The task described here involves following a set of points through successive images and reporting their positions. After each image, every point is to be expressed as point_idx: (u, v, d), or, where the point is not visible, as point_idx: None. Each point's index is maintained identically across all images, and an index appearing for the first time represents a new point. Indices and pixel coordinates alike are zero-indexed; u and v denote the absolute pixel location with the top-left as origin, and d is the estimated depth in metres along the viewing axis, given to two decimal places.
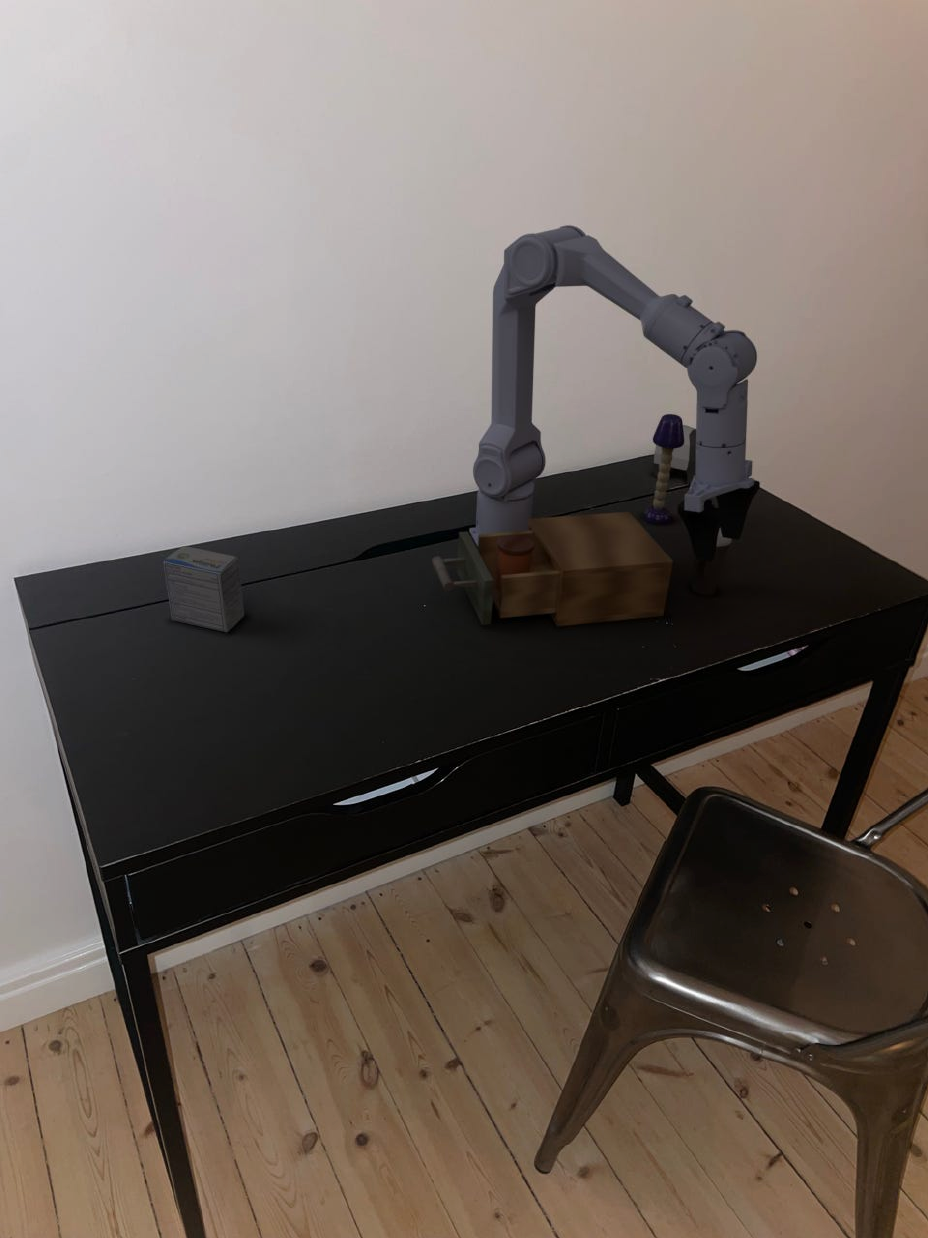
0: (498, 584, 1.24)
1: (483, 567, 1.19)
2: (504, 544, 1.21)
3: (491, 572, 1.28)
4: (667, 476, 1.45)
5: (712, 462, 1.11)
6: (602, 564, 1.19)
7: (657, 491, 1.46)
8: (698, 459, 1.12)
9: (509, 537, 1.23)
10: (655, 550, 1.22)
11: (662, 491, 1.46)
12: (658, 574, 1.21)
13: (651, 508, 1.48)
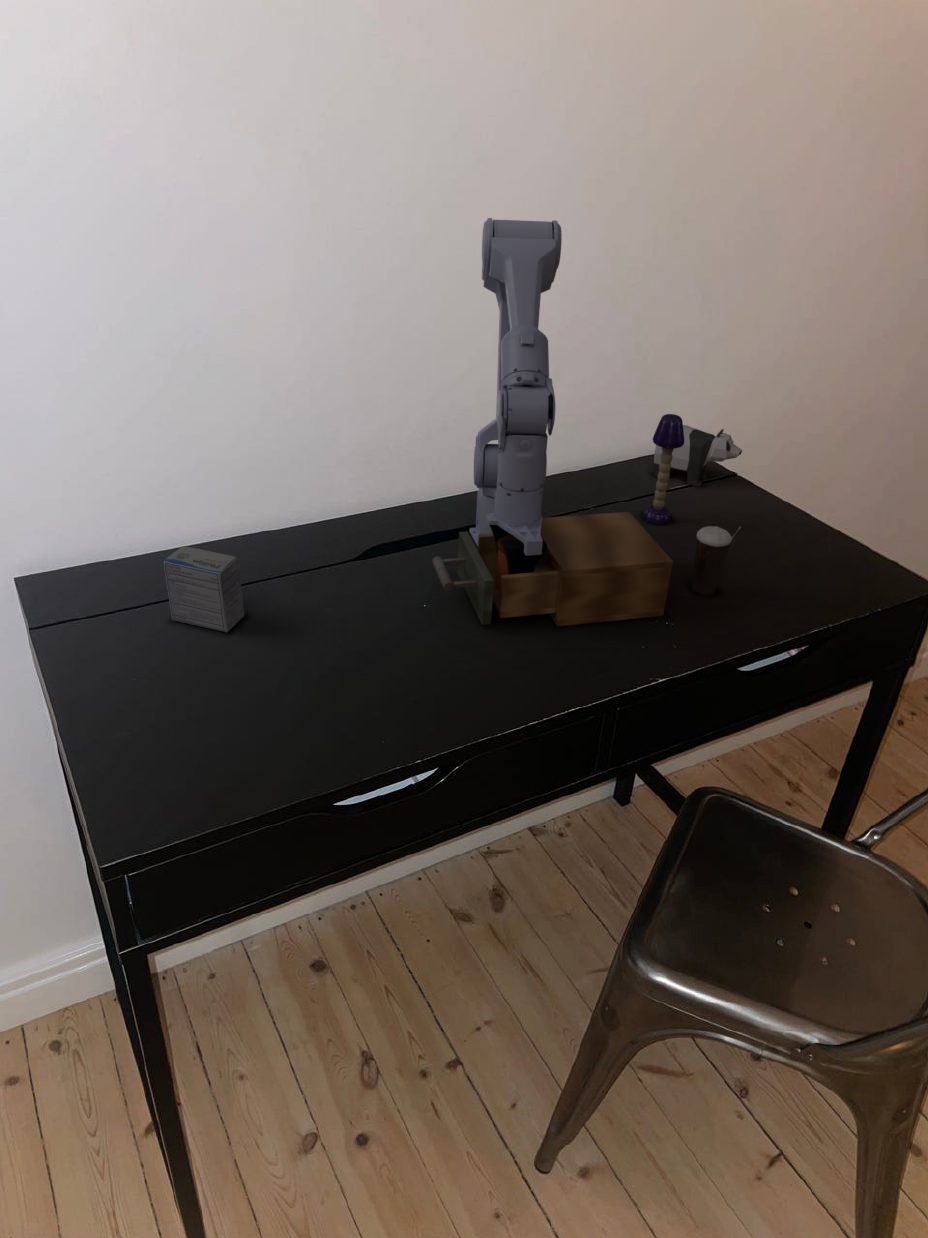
0: (498, 584, 1.24)
1: (483, 567, 1.19)
2: None
3: (491, 572, 1.28)
4: (667, 476, 1.45)
5: None
6: (602, 564, 1.19)
7: (657, 491, 1.46)
8: None
9: (509, 537, 1.23)
10: (655, 550, 1.22)
11: (662, 491, 1.46)
12: (658, 574, 1.21)
13: (651, 508, 1.48)
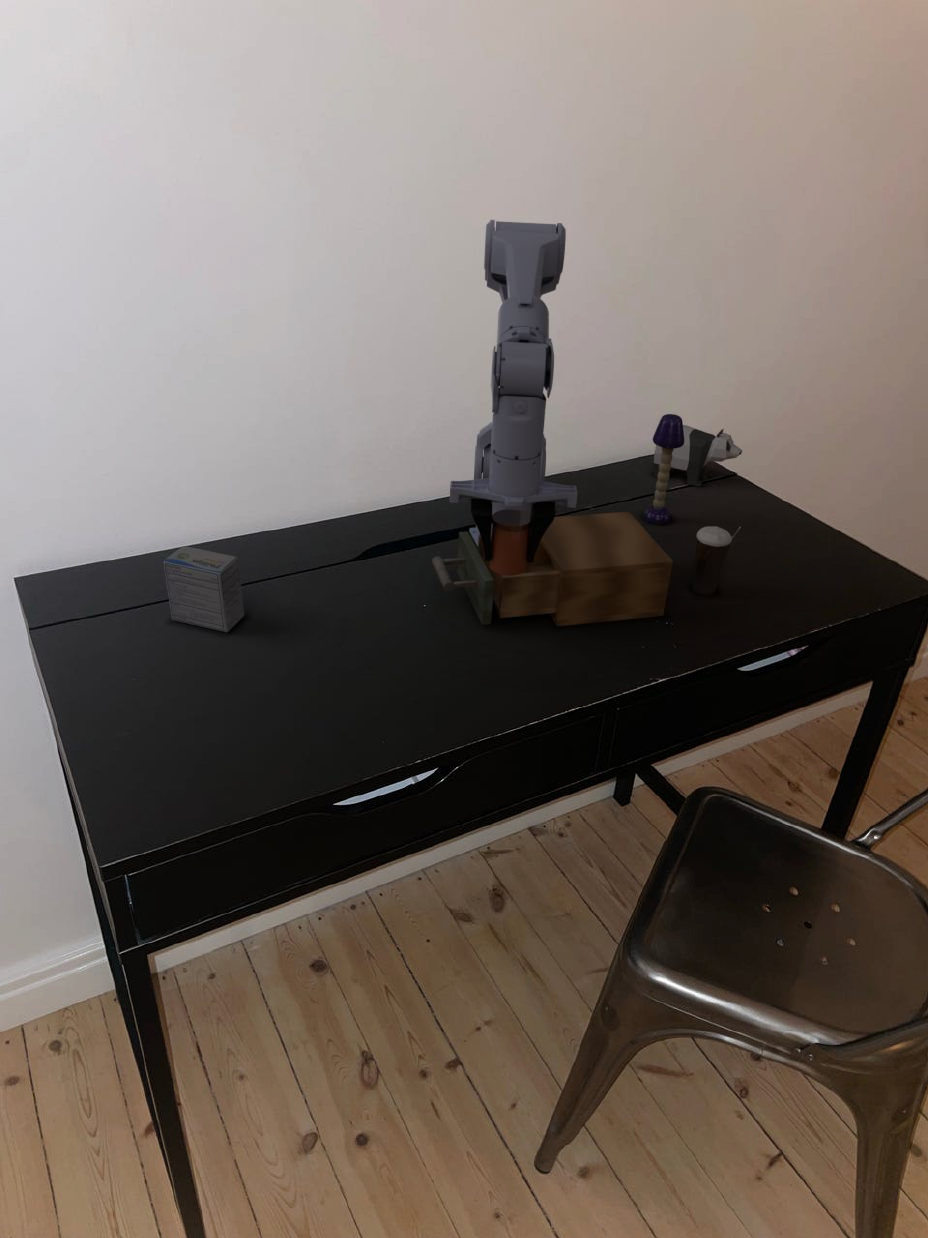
0: (514, 567, 1.13)
1: (483, 567, 1.19)
2: (514, 523, 1.10)
3: (491, 572, 1.28)
4: (667, 476, 1.45)
5: (490, 465, 1.08)
6: (602, 564, 1.19)
7: (657, 491, 1.46)
8: None
9: (498, 518, 1.11)
10: (655, 550, 1.22)
11: (662, 491, 1.46)
12: (658, 574, 1.21)
13: (651, 508, 1.48)
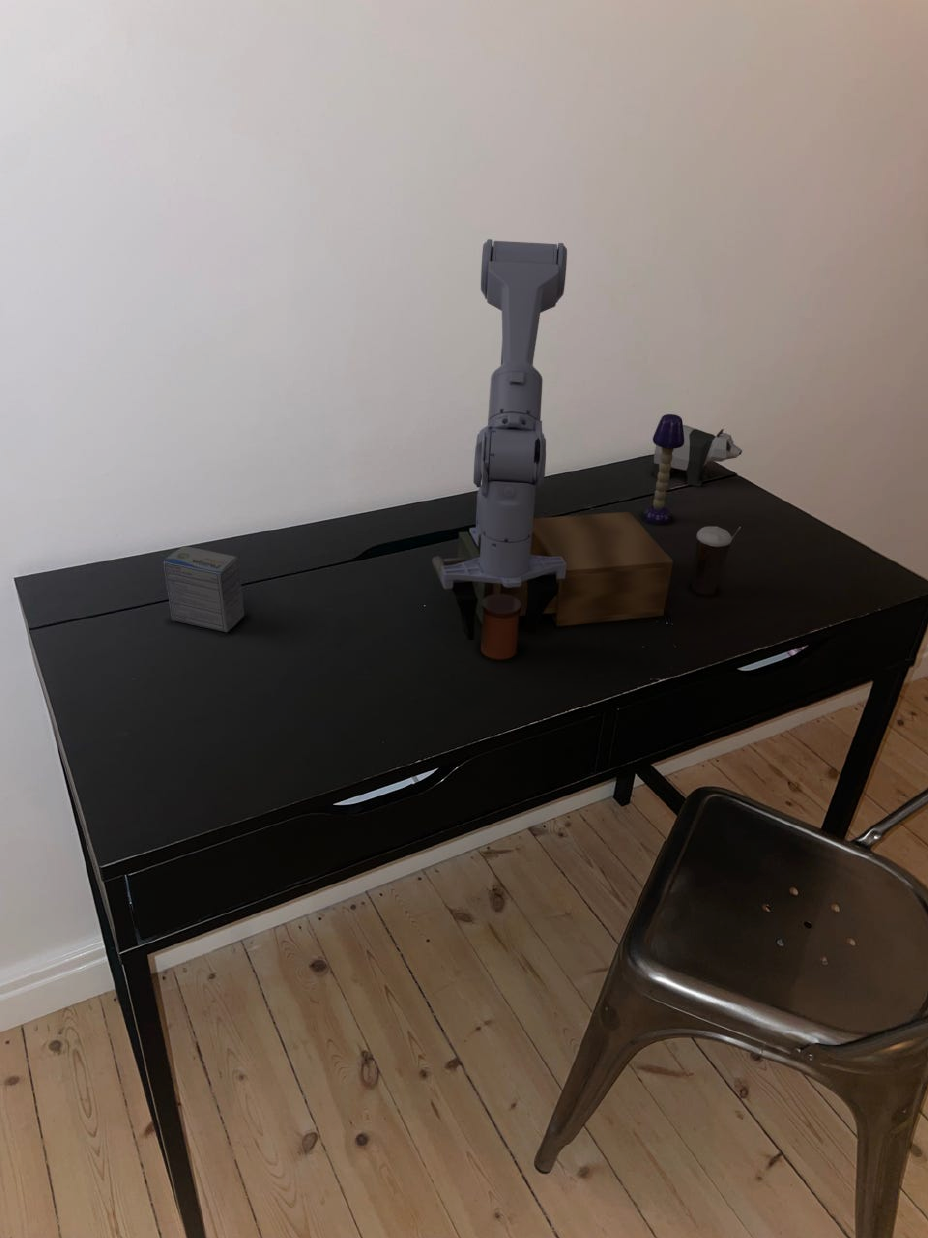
0: (509, 651, 1.14)
1: None
2: (507, 610, 1.12)
3: None
4: (667, 476, 1.45)
5: (482, 548, 1.08)
6: (602, 564, 1.19)
7: (657, 491, 1.46)
8: None
9: (489, 606, 1.12)
10: (655, 550, 1.22)
11: (662, 491, 1.46)
12: (658, 574, 1.21)
13: (651, 508, 1.48)
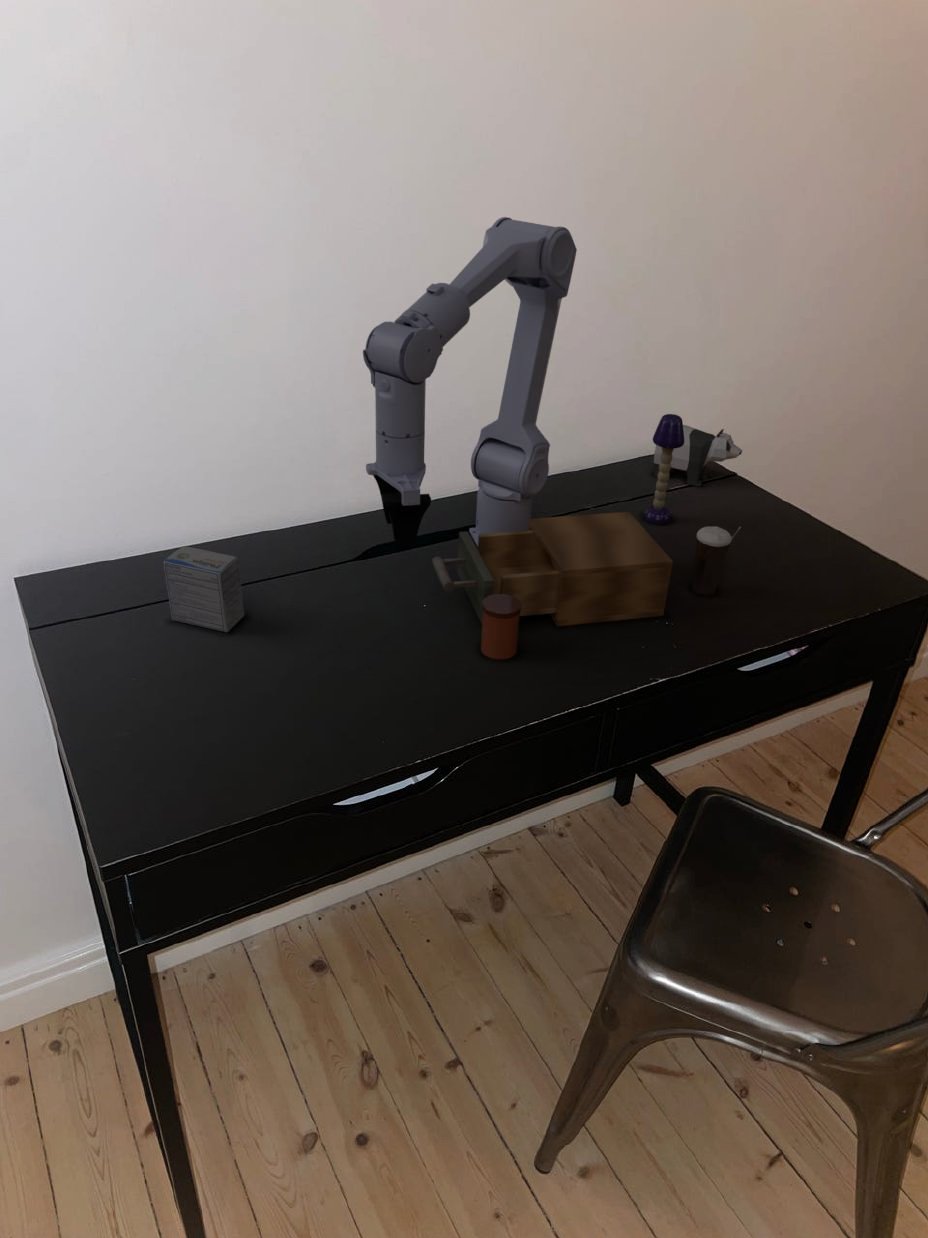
0: (509, 651, 1.14)
1: (483, 567, 1.19)
2: (507, 610, 1.12)
3: (491, 572, 1.28)
4: (667, 476, 1.45)
5: None
6: (602, 564, 1.19)
7: (657, 491, 1.46)
8: None
9: (489, 606, 1.12)
10: (655, 550, 1.22)
11: (662, 491, 1.46)
12: (658, 574, 1.21)
13: (651, 508, 1.48)
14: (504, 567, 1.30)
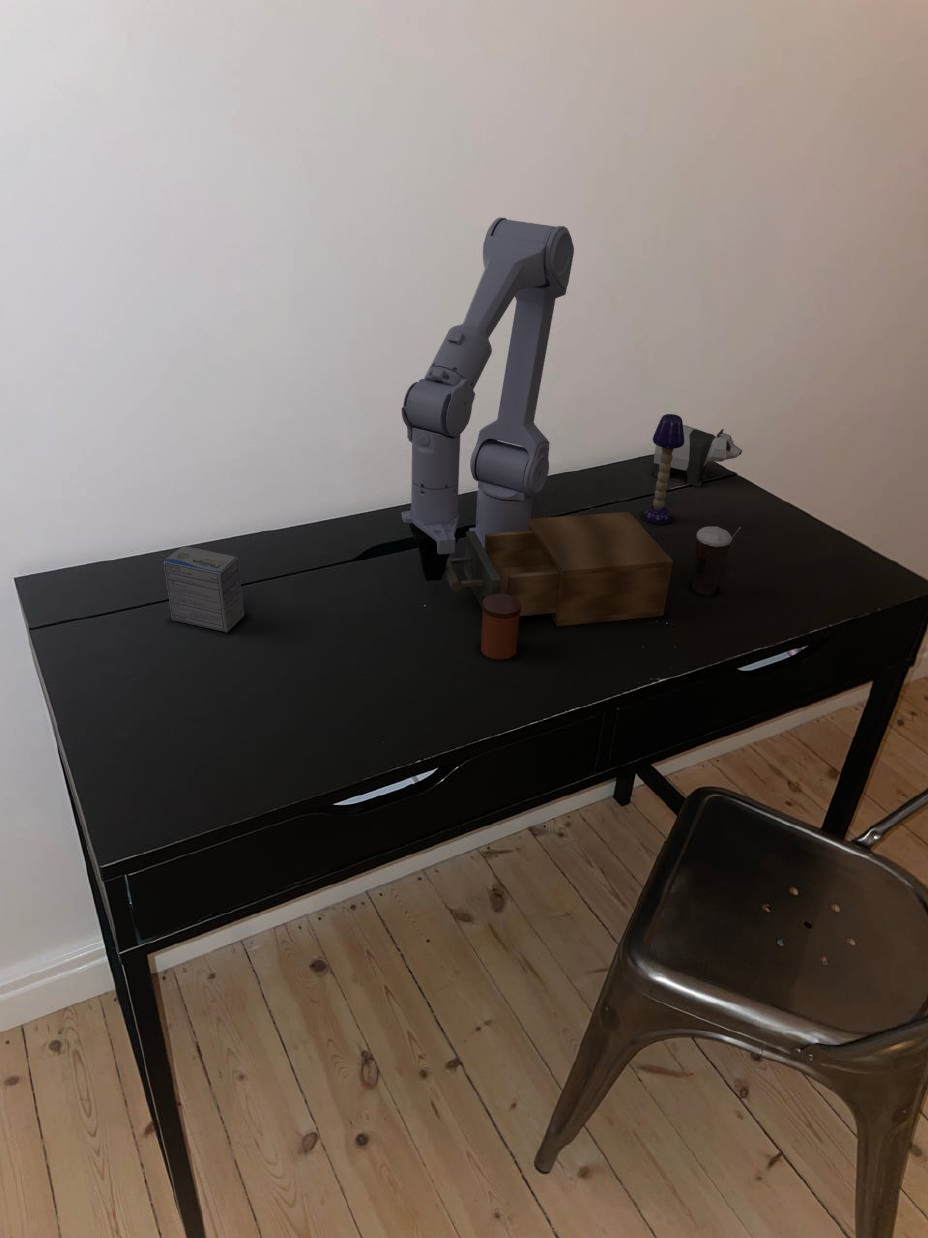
0: (509, 651, 1.14)
1: (490, 566, 1.19)
2: (507, 610, 1.12)
3: (498, 571, 1.29)
4: (667, 476, 1.45)
5: None
6: (602, 564, 1.19)
7: (657, 491, 1.46)
8: None
9: (489, 606, 1.12)
10: (655, 550, 1.22)
11: (662, 491, 1.46)
12: (658, 574, 1.21)
13: (651, 508, 1.48)
14: (510, 567, 1.30)
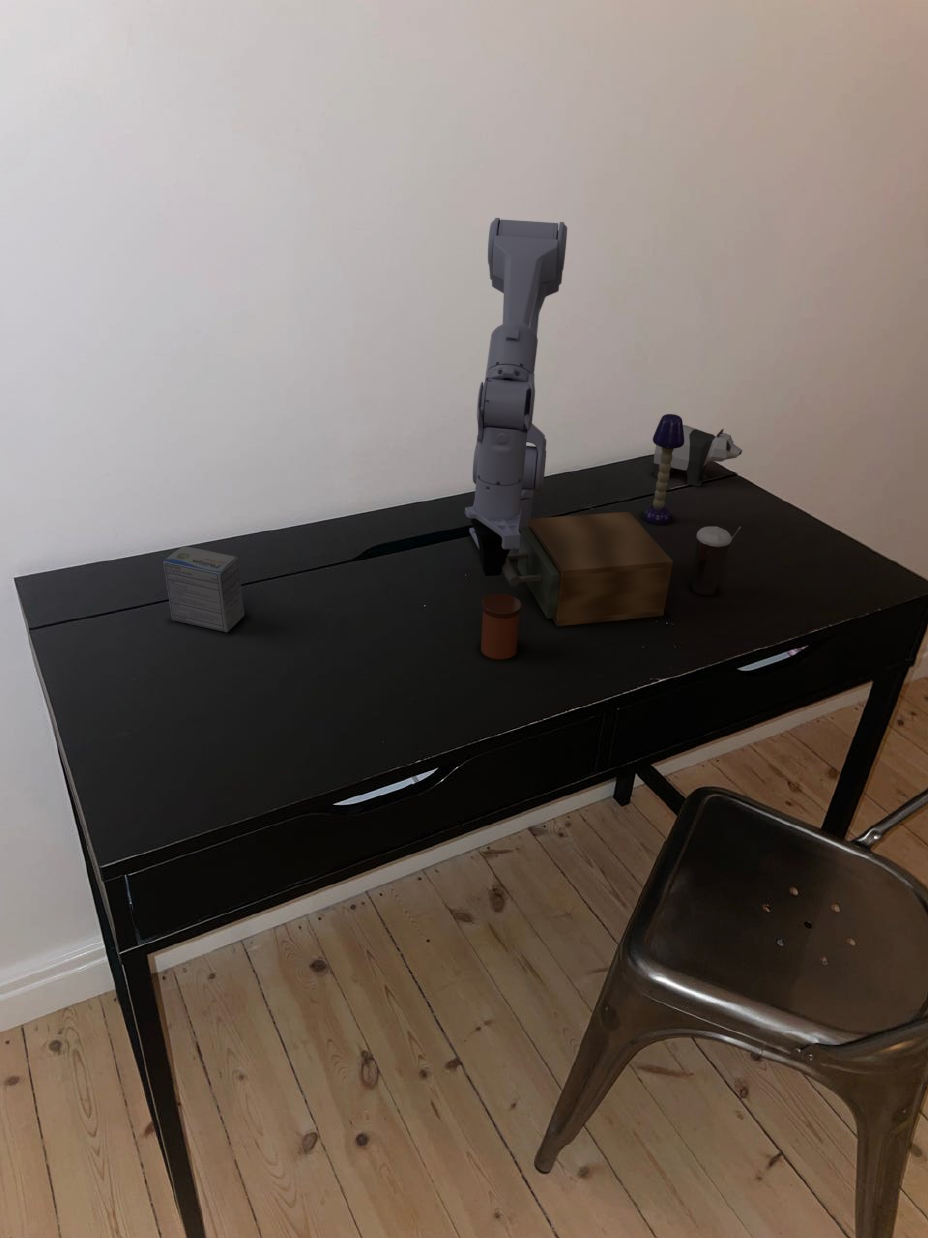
0: (509, 651, 1.14)
1: (548, 562, 1.20)
2: (507, 610, 1.12)
3: None
4: (667, 476, 1.45)
5: None
6: (602, 564, 1.19)
7: (657, 491, 1.46)
8: None
9: (489, 606, 1.12)
10: (655, 550, 1.22)
11: (662, 491, 1.46)
12: (658, 574, 1.21)
13: (651, 508, 1.48)
14: None
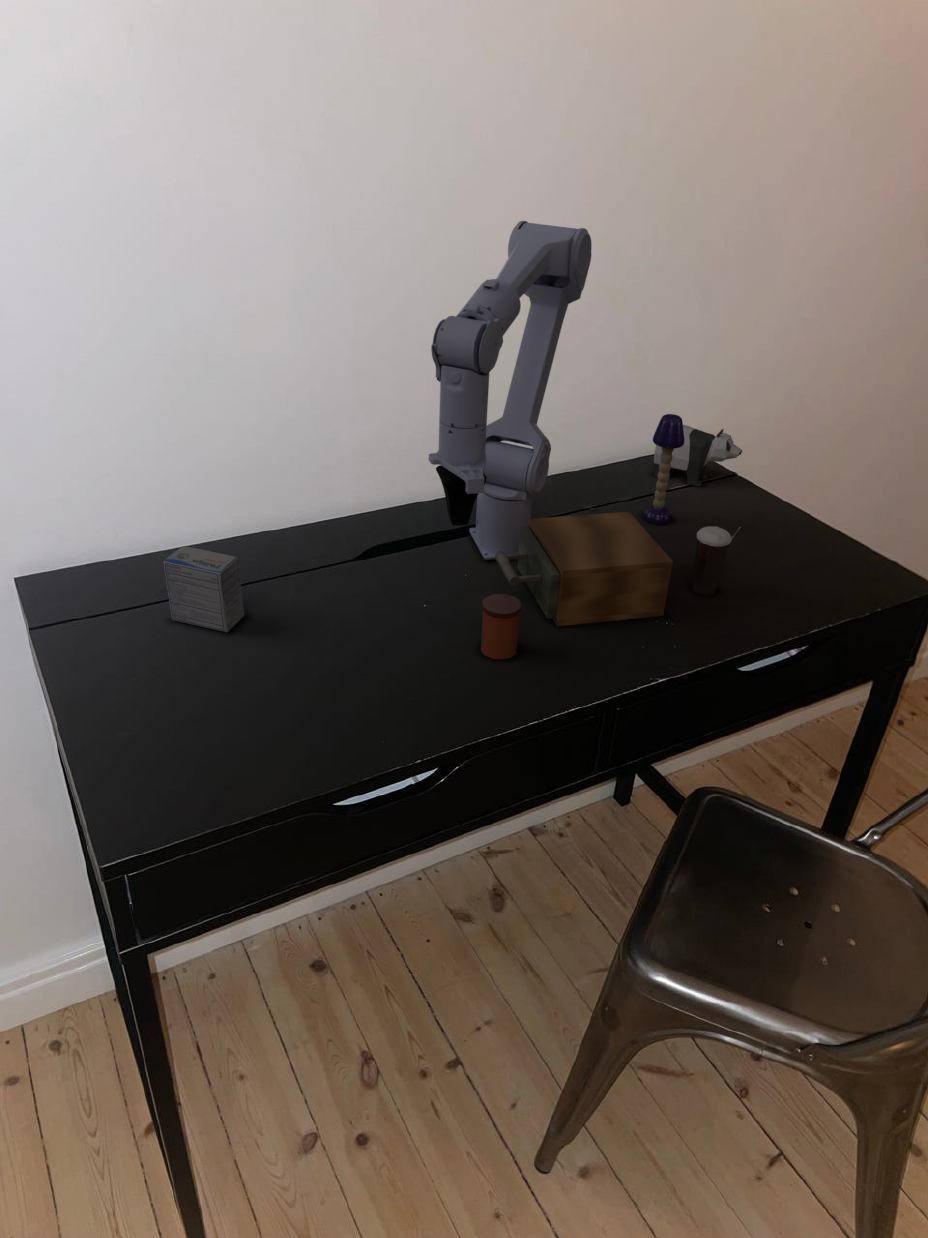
0: (509, 651, 1.14)
1: (548, 562, 1.20)
2: (507, 610, 1.12)
3: None
4: (667, 476, 1.45)
5: None
6: (602, 564, 1.19)
7: (657, 491, 1.46)
8: None
9: (489, 606, 1.12)
10: (655, 550, 1.22)
11: (662, 491, 1.46)
12: (658, 574, 1.21)
13: (651, 508, 1.48)
14: None
